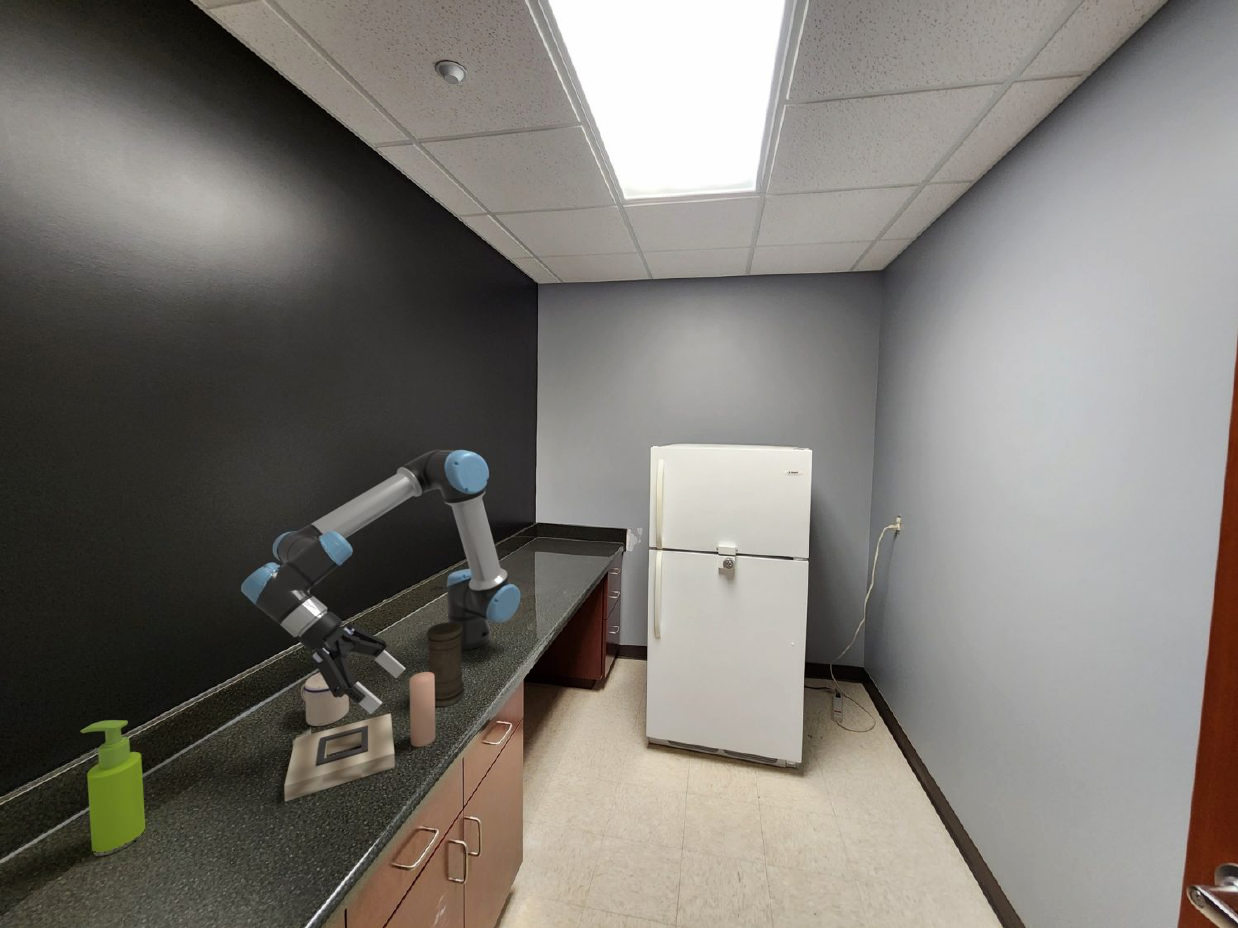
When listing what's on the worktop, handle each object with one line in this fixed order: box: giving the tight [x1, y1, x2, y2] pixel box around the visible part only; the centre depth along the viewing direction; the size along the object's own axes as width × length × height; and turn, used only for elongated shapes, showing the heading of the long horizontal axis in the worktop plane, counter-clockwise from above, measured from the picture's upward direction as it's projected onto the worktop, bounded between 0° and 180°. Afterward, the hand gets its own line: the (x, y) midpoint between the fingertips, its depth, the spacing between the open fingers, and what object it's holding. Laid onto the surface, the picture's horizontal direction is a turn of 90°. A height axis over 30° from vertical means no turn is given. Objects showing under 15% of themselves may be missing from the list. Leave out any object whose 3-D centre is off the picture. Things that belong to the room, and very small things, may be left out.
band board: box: [284, 713, 396, 803], centre depth 94 cm, size 18×15×3 cm
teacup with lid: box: [300, 672, 350, 727], centre depth 108 cm, size 12×9×12 cm
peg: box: [409, 671, 436, 748], centre depth 100 cm, size 5×5×14 cm
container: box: [426, 621, 465, 707], centre depth 116 cm, size 9×9×18 cm
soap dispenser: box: [80, 719, 146, 852], centre depth 74 cm, size 6×7×20 cm
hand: (389, 689), depth 98 cm, fingers open, 13 cm apart
